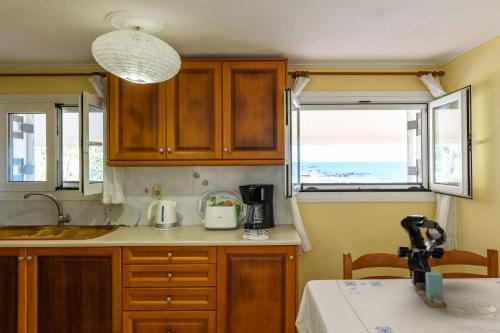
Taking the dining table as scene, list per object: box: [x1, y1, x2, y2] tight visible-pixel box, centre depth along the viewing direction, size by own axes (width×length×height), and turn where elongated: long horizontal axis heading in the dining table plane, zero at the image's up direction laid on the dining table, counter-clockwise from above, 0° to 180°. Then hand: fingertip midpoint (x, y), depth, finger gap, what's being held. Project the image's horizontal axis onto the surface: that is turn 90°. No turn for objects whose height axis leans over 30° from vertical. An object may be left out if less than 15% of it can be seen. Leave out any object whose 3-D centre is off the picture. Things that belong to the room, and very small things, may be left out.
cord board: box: [414, 283, 448, 309], centre depth 138 cm, size 20×6×4 cm, turn 168°
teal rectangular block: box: [426, 271, 444, 301], centre depth 132 cm, size 4×5×10 cm
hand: (425, 269), depth 143 cm, fingers closed
